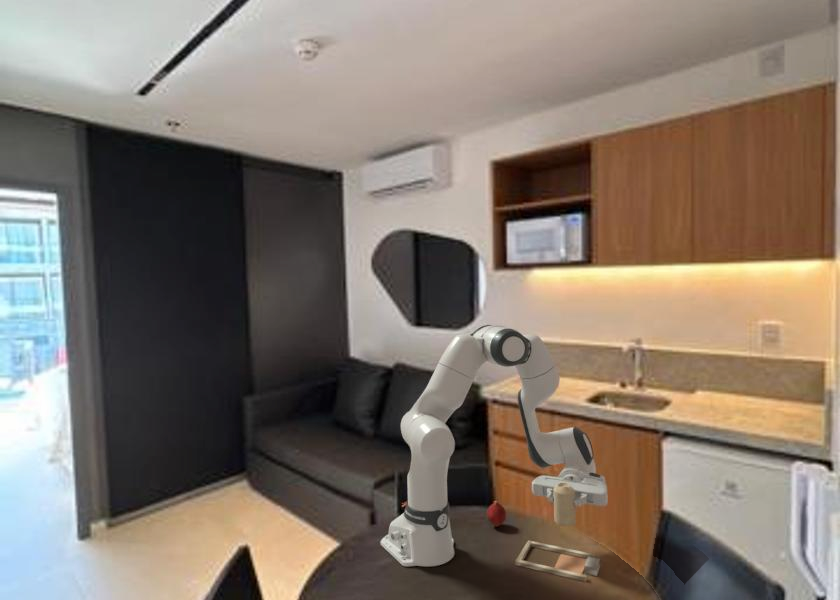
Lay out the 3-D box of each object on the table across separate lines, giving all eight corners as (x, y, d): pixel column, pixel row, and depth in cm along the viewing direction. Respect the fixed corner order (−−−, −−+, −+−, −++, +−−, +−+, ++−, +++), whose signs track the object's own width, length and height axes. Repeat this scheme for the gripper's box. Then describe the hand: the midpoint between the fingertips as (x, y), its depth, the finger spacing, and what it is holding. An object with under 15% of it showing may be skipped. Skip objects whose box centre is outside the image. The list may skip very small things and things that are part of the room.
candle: (576, 527, 132) (575, 489, 131) (554, 525, 133) (553, 488, 133) (574, 517, 137) (573, 480, 137) (553, 516, 138) (552, 480, 138)
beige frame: (515, 564, 135) (515, 557, 135) (528, 543, 146) (528, 536, 146) (594, 583, 126) (594, 575, 126) (602, 559, 137) (601, 552, 136)
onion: (496, 520, 161) (495, 495, 161) (510, 526, 157) (509, 500, 157) (483, 526, 158) (482, 500, 157) (497, 532, 153) (496, 506, 153)
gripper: (537, 466, 151) (524, 483, 139) (610, 477, 141) (603, 495, 129) (538, 487, 151) (525, 506, 139) (611, 499, 142) (603, 520, 129)
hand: (563, 501), depth 134 cm, fingers closed on candle, 5 cm apart
